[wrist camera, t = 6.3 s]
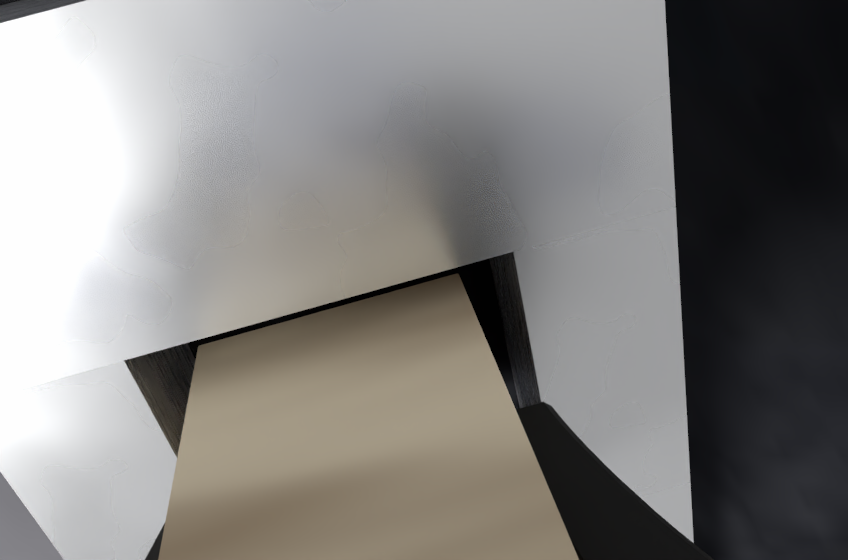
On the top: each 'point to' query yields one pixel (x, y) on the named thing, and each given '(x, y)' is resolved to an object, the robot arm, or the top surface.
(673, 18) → the top surface
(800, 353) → the top surface
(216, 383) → the peg
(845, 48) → the top surface
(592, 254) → the board with rectangular recess
